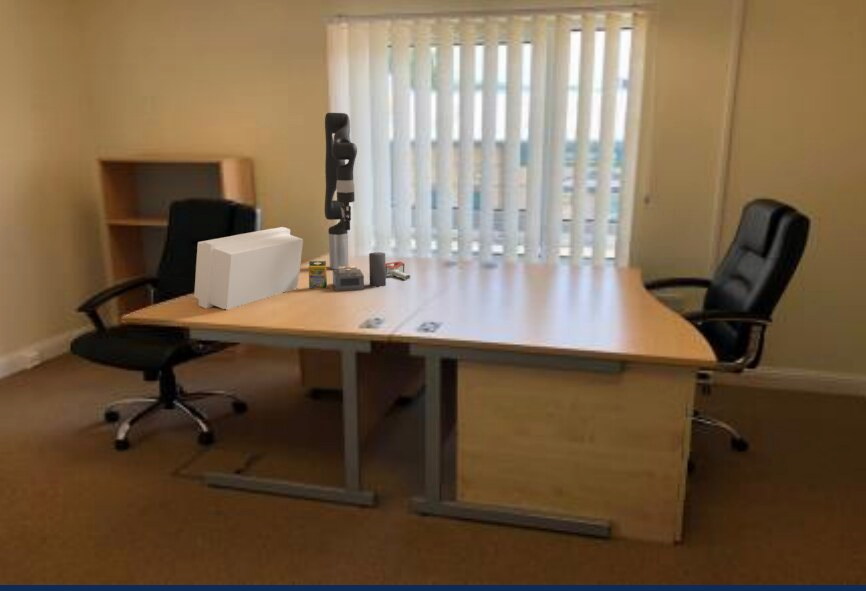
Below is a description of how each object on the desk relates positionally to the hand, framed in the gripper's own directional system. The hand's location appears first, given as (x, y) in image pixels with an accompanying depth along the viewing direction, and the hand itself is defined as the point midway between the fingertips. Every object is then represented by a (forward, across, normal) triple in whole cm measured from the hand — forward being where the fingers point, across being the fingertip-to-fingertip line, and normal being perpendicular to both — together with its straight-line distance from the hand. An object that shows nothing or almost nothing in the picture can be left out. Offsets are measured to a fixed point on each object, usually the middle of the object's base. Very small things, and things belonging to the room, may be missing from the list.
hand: (346, 228), depth 296 cm
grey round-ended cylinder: (+25, +3, +13) cm, 28 cm away
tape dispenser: (+26, -15, +23) cm, 38 cm away
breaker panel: (+25, +3, 0) cm, 25 cm away
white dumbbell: (+19, +3, 0) cm, 19 cm away
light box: (+25, +14, -40) cm, 49 cm away
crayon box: (+25, +3, -13) cm, 29 cm away
